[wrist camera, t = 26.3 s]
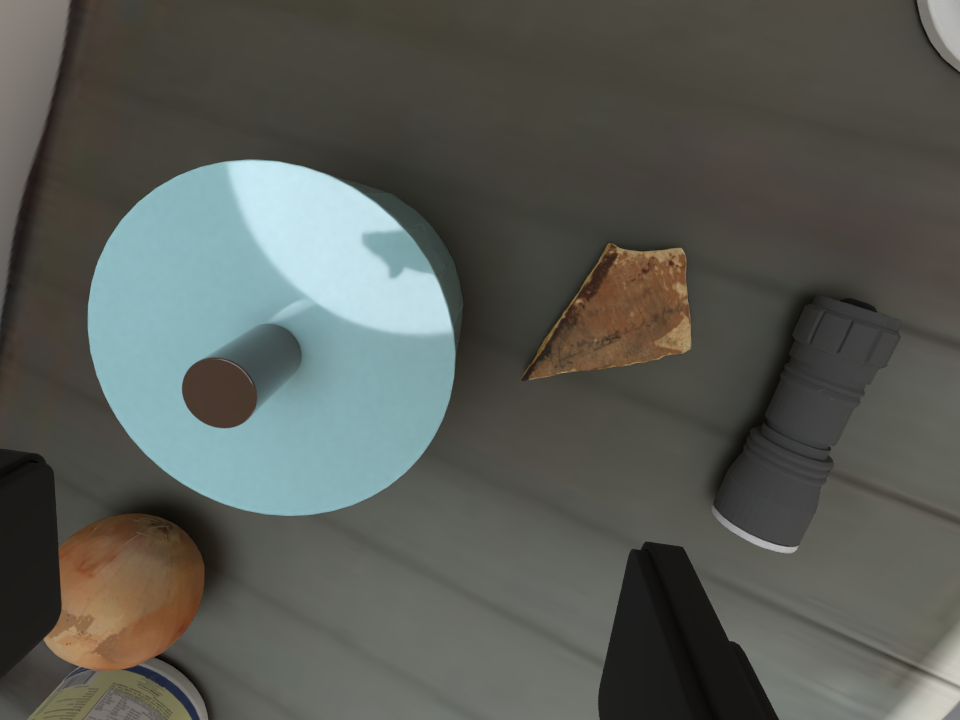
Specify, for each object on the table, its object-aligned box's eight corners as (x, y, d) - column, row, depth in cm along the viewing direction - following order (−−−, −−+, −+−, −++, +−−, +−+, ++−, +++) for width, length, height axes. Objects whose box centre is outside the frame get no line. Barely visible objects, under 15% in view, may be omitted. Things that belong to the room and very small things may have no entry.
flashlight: (796, 281, 38) (841, 294, 32) (877, 307, 38) (936, 324, 33) (700, 495, 42) (727, 537, 36) (774, 517, 42) (812, 563, 37)
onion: (89, 581, 46) (-23, 682, 36) (113, 469, 44) (0, 546, 34) (211, 622, 47) (133, 734, 37) (243, 513, 44) (167, 602, 34)
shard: (520, 374, 40) (521, 382, 38) (502, 259, 38) (501, 262, 37) (687, 349, 39) (695, 356, 37) (676, 230, 37) (684, 231, 36)
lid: (478, 187, 26) (473, 190, 20) (436, 524, 31) (422, 611, 25) (92, 135, 26) (-35, 121, 20) (110, 482, 31) (11, 560, 25)
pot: (477, 197, 37) (462, 197, 26) (447, 435, 42) (424, 521, 30) (227, 163, 38) (108, 149, 27) (223, 403, 42) (118, 477, 31)
